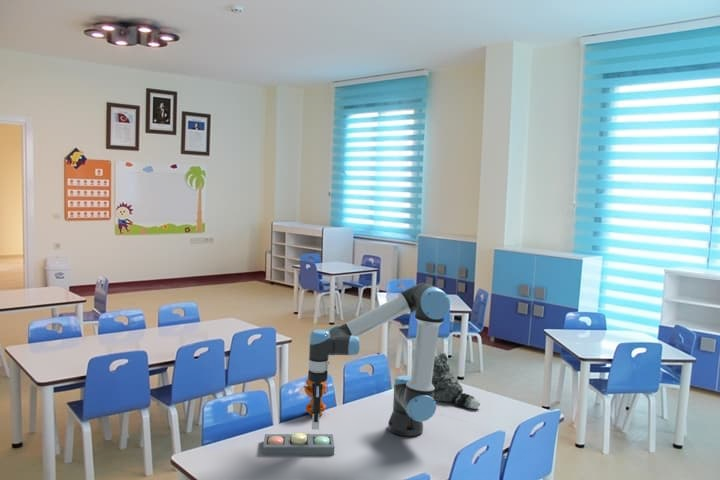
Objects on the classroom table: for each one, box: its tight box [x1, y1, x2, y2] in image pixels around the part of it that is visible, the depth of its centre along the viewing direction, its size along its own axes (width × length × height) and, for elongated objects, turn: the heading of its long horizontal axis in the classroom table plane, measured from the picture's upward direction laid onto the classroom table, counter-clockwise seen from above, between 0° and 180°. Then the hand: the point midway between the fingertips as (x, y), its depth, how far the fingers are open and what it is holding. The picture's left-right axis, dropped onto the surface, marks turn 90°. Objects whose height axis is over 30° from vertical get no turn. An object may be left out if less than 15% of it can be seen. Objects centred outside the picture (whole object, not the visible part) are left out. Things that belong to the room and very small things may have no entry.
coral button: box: [268, 436, 284, 444], centre depth 229 cm, size 6×6×3 cm
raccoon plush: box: [431, 352, 481, 410], centre depth 292 cm, size 15×32×21 cm, turn 58°
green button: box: [314, 436, 330, 444], centre depth 231 cm, size 6×6×3 cm
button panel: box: [262, 433, 335, 456], centre depth 230 cm, size 12×27×3 cm, turn 96°
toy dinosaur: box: [303, 378, 329, 416], centre depth 265 cm, size 11×11×18 cm
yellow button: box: [291, 432, 307, 444], centre depth 230 cm, size 6×6×3 cm
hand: (315, 428), depth 230 cm, fingers closed
